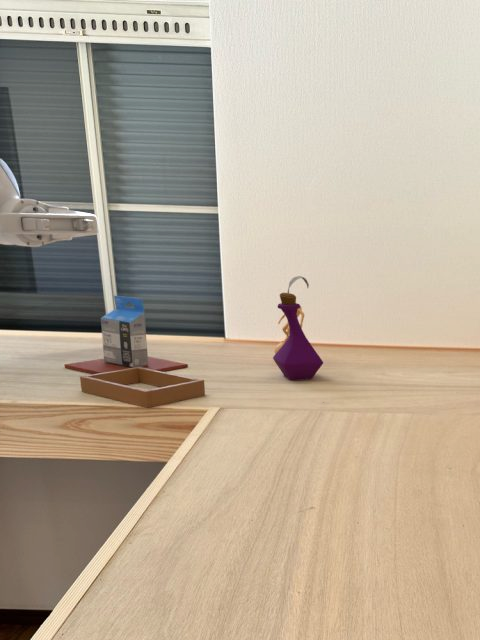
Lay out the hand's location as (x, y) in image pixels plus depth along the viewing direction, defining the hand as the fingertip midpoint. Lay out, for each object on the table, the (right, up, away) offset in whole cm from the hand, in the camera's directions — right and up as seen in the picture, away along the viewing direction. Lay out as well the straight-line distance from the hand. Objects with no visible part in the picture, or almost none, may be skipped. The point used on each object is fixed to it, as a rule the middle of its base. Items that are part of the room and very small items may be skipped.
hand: (69, 224), depth 137 cm
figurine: (+40, -23, +13) cm, 48 cm away
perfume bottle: (+43, -29, -1) cm, 52 cm away
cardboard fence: (+20, -34, -17) cm, 43 cm away
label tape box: (+10, -26, +2) cm, 28 cm away
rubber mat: (+10, -26, +2) cm, 28 cm away
